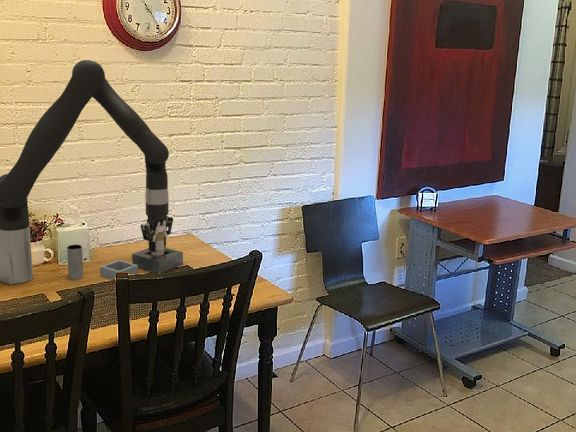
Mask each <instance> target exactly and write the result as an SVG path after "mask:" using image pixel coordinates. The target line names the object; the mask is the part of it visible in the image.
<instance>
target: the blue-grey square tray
mask: <svg viewBox="0 0 576 432" xmlns="http://www.w3.org/2000/svg"><path fill="white" fill-rule="evenodd" d="M99 268H100V269H99V270H100V271H99V272H100V276H101V277H105V278H108V279H111V280H114V281H116V280H115V277H116V273H118V272H126V273H128V274H136V275H138V274H139V268H138V265H136V264H132V263H131V262H129V261H126V260H121V259H118V260H114V261H112V262H110V263H109V262H108V263H107V264H104V265H100V266H99Z"/></svg>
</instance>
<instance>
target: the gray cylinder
mask: <svg viewBox="0 0 576 432" xmlns="http://www.w3.org/2000/svg"><path fill="white" fill-rule="evenodd" d="M66 248H67V249H66V253H67V271H68V272H67V274H68V279H70V280H74V281H75V280H76V281H77V280H81V279H83V278H84V262H83V259H84V258H83V246H82V245H81V244H70V245H68V246H67V247H66Z"/></svg>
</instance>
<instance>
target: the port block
mask: <svg viewBox="0 0 576 432" xmlns="http://www.w3.org/2000/svg"><path fill="white" fill-rule="evenodd" d="M131 260H132V264H136V265H138V270H143V271H146V272H150V273H153V274H156V273H159V272H163V271H166V272H169V271H171V270H173V269H176V268H177V267H180V266H182V265H184V252H183V251H180V250H177V249H173V248H170V247H167V246H166V247H165V248H164V256H161V257H155V256H151V251H150V250H149V247H148V248H145V249H142V250H140V251H137V252H134V253H131ZM170 269H171V270H170Z"/></svg>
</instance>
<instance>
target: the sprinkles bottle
mask: <svg viewBox="0 0 576 432" xmlns="http://www.w3.org/2000/svg"><path fill="white" fill-rule="evenodd" d="M151 231H152V232H154V231H153V230H151ZM152 236H153V234H152ZM152 236H151V237H152ZM155 241H156V251H155V252H151V256H155V257H161V256H164V226H163V225H161V226H160V227H158V234H157V235H156V239H155Z"/></svg>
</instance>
